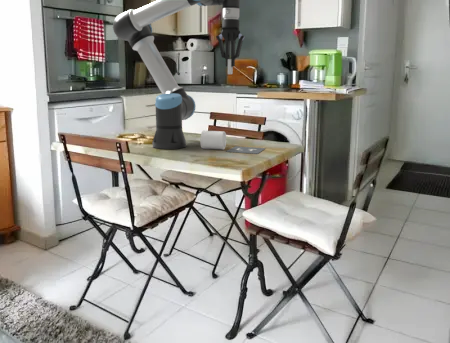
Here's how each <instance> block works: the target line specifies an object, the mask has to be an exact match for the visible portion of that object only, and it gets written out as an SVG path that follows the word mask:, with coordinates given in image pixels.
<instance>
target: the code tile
mask: <svg viewBox="0 0 450 343" xmlns="http://www.w3.org/2000/svg"><path fill="white" fill-rule="evenodd" d="M265 149H266V147H253V146H250V147H249V146H239V145H238V146H237V145H235V146H233V147H231V148H230V149H228V150H226V151H225V153H226V152H227V153H239V154H251V155H252V154H254V155H259V154H260V153H261V152H262V151H264V150H265Z"/></svg>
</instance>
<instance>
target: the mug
mask: <svg viewBox="0 0 450 343" xmlns="http://www.w3.org/2000/svg"><path fill="white" fill-rule="evenodd" d="M199 140H200V141H199V142H200V148H201V149H203V150H204V149H205V150H225V149H226V145H227V133H226V132H225V131H224V130H223V131H219V130H202V131H201V133H200V138H199Z"/></svg>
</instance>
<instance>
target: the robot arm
mask: <svg viewBox="0 0 450 343" xmlns="http://www.w3.org/2000/svg"><path fill="white" fill-rule="evenodd" d="M195 5H198V6H201V7H207V6H210V7H211V6H221V7H222V10H221V11H222V16H221V17H222V20H221V22H222V23H221V28H222V29H221V32H220V34H219V35H216V36H215V37H216V40H217V41H218V45H219V46H218V47H219V51H220V55H221V58H223V59H225V67H227V75H233V73H234V72H233V68H234V67H236V66H235V65H236V64H235V63H236V62H235V61H236V59H239V57H240V54H241V51H242V45H243V42H244V40H245V39H246V36H245V35H243V34H242V33H241V31H240V20H239V19H240V10H241V9H240V0H155V1H153V2H150V3H149V4H145V5H143V6H142V7H139V8H137V9H133V8H131V9H130V8H129V9H128V10H127V11H126V10H125V11H124V12H122V13H120V14H118V15H117V16H115V17H114V20H113V23H112V30H113V32H114V35H116V37H117V38H118V39H120V40H122V41H127V42H128V44H129V46H130V47H131V48H132V50H133V51H134V52H135V51H136V52H137V53H138V54H139V56H140V58H141V60H142V62H143V63H144V65H145V66H146V68H147V70H148V72H149V74H150V76H151V77H152V78H153V80H154V82H155V84H156V86H157V87H158V89H159V92H161V94H159V95H156V97H155V102H154V103H155V104H154V105H155V132H154V136H153V139H152V147H153V148H155V149H161V150H174V149H176V150H177V149H183V148H186V147H187V140H186V137H185V135H184V131H183V121H186V120H188V119H190V118H191V117H193V115H194V113H195V111H196V101H195V100H194V98H193V97H192V96H190V95H189V94H188V93H187V92H186V90H185V88H184V87H183V86H179V85H178V82H177V81H176V79H175V78H174V76H173V74H172V72H171V70H170V69H169V67H168V65H167V63H166V62H165V60H164V59H163V57H162V55H161V53H160V52H159V50H158V48H157V46H156V44H155V43H154V40H155V36H154V35H153V27H152V24H153V23H156V22H158V21H161V20H162V19H164V18H166V17H169V16H171V15H174V14H176V13H178V12H180V11H183V10H185V9H188V8H190V7H192V6H195ZM223 39H224V41H225V46H224V41H223ZM237 39H238V41H237ZM236 42H237V43H236ZM236 44H237V46H236Z"/></svg>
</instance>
